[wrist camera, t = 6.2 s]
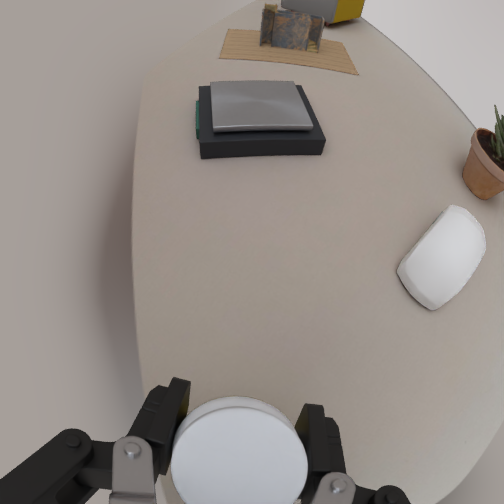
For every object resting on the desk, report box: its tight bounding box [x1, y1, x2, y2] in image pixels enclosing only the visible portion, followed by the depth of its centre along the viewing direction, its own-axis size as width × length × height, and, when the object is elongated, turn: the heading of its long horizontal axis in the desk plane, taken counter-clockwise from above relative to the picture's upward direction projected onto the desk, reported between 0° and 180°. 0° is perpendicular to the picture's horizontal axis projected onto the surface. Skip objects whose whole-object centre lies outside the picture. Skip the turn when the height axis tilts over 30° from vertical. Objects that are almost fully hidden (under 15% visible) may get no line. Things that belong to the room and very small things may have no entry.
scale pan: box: [210, 81, 313, 133], centre depth 34 cm, size 11×10×1 cm
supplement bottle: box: [171, 396, 308, 504], centre depth 11 cm, size 5×5×8 cm
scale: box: [196, 85, 326, 159], centre depth 36 cm, size 14×12×2 cm
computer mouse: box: [397, 204, 486, 310], centre depth 26 cm, size 6×13×6 cm, turn 130°
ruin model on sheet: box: [219, 3, 359, 75], centre depth 46 cm, size 25×16×10 cm, turn 88°
